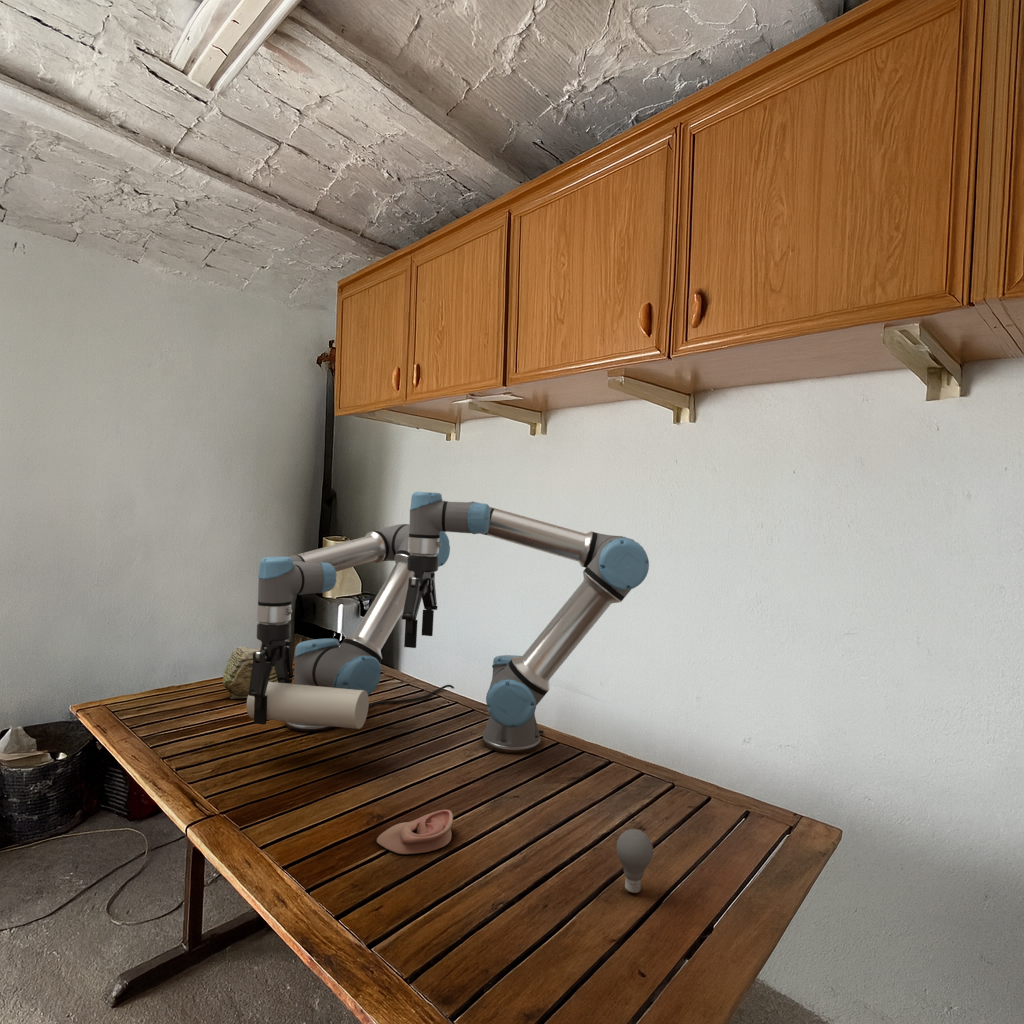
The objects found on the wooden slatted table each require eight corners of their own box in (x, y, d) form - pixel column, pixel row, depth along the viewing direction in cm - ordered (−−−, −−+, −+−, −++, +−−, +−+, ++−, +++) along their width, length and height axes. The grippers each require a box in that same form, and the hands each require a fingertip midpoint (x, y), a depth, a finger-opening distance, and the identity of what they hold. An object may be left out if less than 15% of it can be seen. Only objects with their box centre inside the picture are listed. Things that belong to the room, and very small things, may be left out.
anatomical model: (370, 827, 114) (394, 798, 126) (369, 849, 114) (393, 818, 126) (440, 838, 112) (458, 808, 123) (439, 860, 112) (458, 828, 123)
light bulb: (610, 879, 108) (613, 822, 108) (644, 879, 109) (647, 822, 109) (619, 902, 102) (622, 840, 102) (655, 901, 103) (658, 840, 103)
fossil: (218, 695, 195) (220, 647, 195) (278, 685, 208) (279, 640, 207) (228, 703, 189) (230, 653, 188) (289, 692, 201) (290, 645, 201)
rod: (245, 723, 147) (247, 686, 147) (265, 711, 155) (266, 676, 155) (353, 734, 143) (355, 696, 143) (368, 721, 151) (369, 686, 151)
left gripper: (264, 632, 139) (260, 734, 139) (310, 615, 160) (306, 704, 161) (233, 629, 140) (229, 731, 140) (282, 613, 161) (279, 701, 162)
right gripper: (423, 560, 142) (418, 654, 142) (451, 552, 167) (447, 632, 167) (391, 558, 143) (386, 651, 144) (423, 550, 168) (419, 629, 168)
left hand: (270, 716), depth 150 cm, fingers closed on rod, 9 cm apart
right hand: (418, 641), depth 155 cm, fingers open, 13 cm apart
